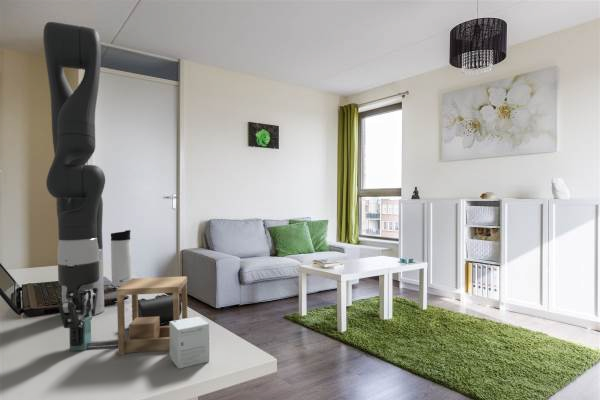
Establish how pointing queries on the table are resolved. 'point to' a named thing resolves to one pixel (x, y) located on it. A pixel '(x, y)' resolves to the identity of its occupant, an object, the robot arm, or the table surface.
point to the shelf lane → (135, 288)
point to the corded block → (137, 330)
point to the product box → (189, 341)
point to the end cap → (158, 308)
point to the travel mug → (121, 257)
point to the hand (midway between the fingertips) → (80, 341)
